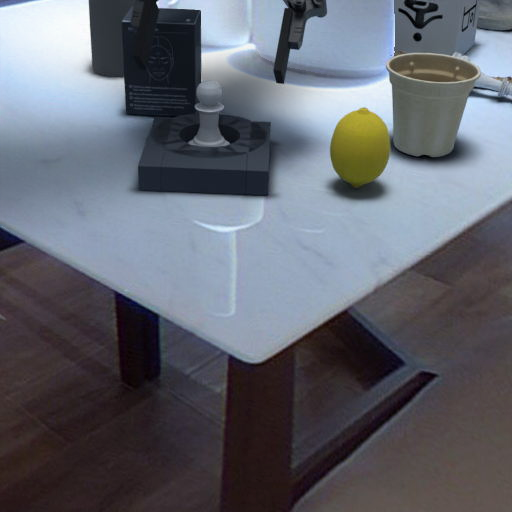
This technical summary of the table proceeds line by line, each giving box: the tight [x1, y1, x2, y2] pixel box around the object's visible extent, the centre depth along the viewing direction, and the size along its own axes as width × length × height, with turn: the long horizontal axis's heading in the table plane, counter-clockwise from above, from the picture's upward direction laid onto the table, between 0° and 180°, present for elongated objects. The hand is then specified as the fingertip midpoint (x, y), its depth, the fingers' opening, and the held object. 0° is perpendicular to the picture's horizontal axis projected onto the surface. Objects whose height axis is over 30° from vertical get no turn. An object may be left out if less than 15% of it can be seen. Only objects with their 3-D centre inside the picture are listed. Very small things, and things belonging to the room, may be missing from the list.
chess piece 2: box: [453, 52, 512, 98], centre depth 113 cm, size 4×4×10 cm
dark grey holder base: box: [137, 112, 272, 196], centre depth 94 cm, size 12×14×2 cm
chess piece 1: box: [188, 80, 230, 147], centre depth 94 cm, size 5×5×8 cm
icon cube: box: [394, 0, 481, 56], centre depth 126 cm, size 10×10×10 cm
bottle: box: [88, 0, 135, 77], centre depth 114 cm, size 6×6×15 cm
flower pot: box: [385, 53, 482, 158], centre depth 98 cm, size 9×9×9 cm
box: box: [122, 7, 202, 117], centre depth 105 cm, size 8×6×11 cm
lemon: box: [329, 107, 391, 189], centre depth 89 cm, size 6×6×8 cm
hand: (208, 70), depth 91 cm, fingers open, 13 cm apart
